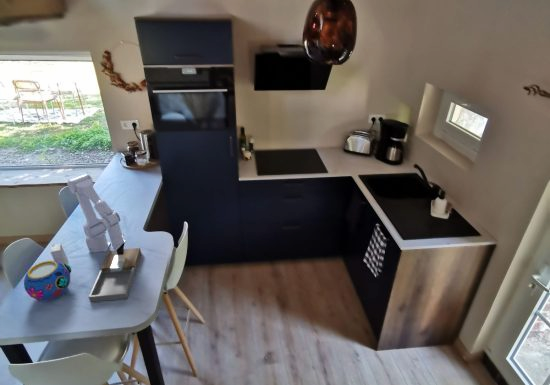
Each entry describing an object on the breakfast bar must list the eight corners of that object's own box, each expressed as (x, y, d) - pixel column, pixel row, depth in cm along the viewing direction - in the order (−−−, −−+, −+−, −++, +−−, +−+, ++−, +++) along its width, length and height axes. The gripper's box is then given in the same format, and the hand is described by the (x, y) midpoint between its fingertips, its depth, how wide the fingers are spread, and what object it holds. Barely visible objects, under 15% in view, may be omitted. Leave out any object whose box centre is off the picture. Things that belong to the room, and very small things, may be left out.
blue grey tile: (110, 271, 163) (109, 268, 162) (113, 264, 168) (112, 261, 167) (121, 270, 164) (120, 267, 163) (123, 263, 168) (123, 260, 167)
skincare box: (67, 268, 171) (60, 250, 165) (57, 270, 169) (50, 252, 163) (68, 261, 175) (61, 242, 169) (58, 263, 174) (51, 245, 168)
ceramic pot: (70, 303, 151) (60, 278, 144) (25, 311, 147) (12, 287, 139) (78, 276, 166) (69, 253, 158) (37, 283, 161) (26, 260, 154)
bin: (90, 302, 152) (88, 296, 150) (102, 274, 167) (100, 269, 165) (127, 299, 154) (125, 293, 152) (135, 271, 169) (134, 266, 167)
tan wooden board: (102, 274, 167) (100, 268, 165) (110, 256, 179) (108, 250, 177) (135, 271, 169) (134, 265, 167) (141, 253, 181) (140, 248, 179)
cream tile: (113, 264, 168) (112, 261, 167) (115, 258, 172) (115, 255, 171) (123, 263, 168) (122, 260, 167) (126, 257, 173) (125, 254, 172)
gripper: (120, 242, 160) (125, 264, 167) (127, 225, 173) (132, 245, 179) (104, 244, 159) (111, 265, 166) (113, 226, 172) (118, 246, 179)
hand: (121, 255), depth 173 cm, fingers closed
